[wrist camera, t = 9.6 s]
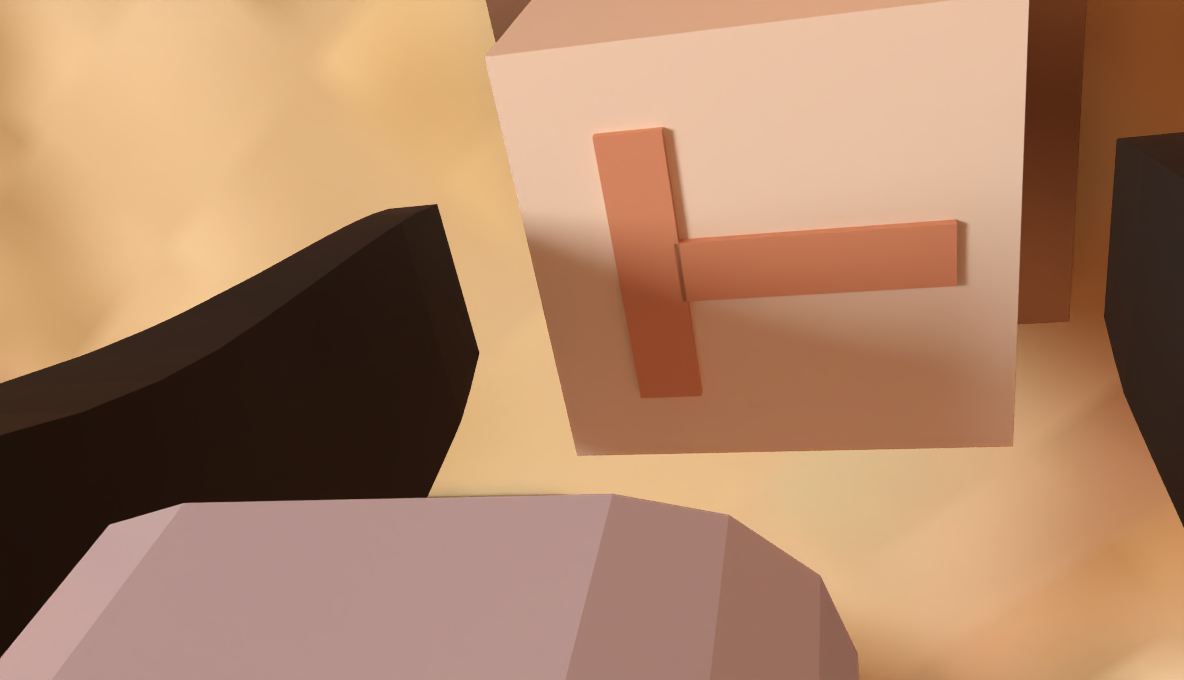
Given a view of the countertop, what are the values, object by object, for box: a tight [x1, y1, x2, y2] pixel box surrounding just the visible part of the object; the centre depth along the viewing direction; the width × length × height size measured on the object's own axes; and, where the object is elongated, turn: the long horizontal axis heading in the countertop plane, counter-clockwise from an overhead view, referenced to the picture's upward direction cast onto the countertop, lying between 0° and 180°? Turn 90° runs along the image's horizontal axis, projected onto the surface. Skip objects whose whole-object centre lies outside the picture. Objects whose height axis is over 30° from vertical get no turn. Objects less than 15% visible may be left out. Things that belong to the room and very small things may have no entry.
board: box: [486, 0, 1086, 324], centre depth 16 cm, size 8×8×1 cm
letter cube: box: [485, 0, 1029, 456], centre depth 13 cm, size 5×5×5 cm
